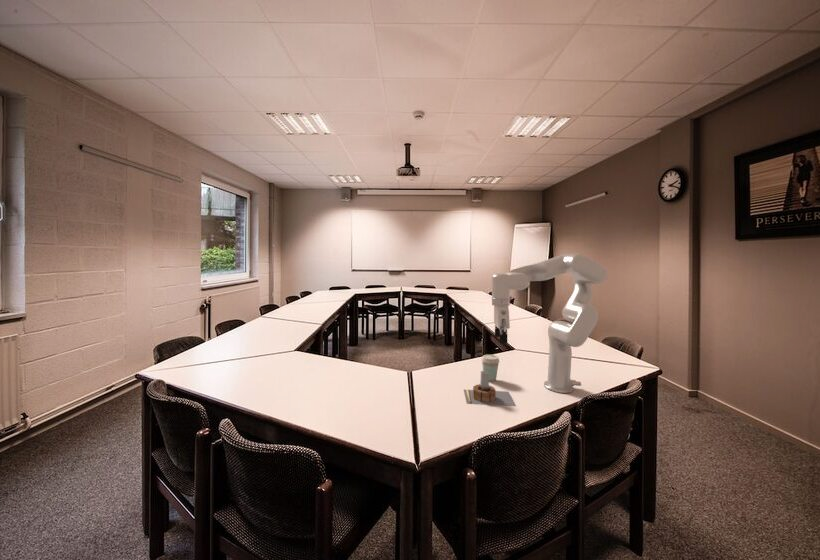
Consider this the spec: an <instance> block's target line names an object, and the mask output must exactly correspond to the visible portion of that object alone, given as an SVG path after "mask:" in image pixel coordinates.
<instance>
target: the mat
mask: <svg viewBox="0 0 820 560" xmlns="http://www.w3.org/2000/svg"><path fill="white" fill-rule="evenodd" d="M463 393H464V394H463V395H464V397H465V402H466V405H484V406H500V407H501V406H502V407H503V406H504V407H505V406H506V407H517V405H516V403H515V401H514V399H513V397H512V396H511V394H510V391H507V390H506V391H505V390H503V391H502V390H501V391H500V390H496V393H495V401H493V402H489V403H487V402H482V401H481V402H479V401H477V400H475V399H474V398H473V389H468V388H466V389H463Z"/></svg>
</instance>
